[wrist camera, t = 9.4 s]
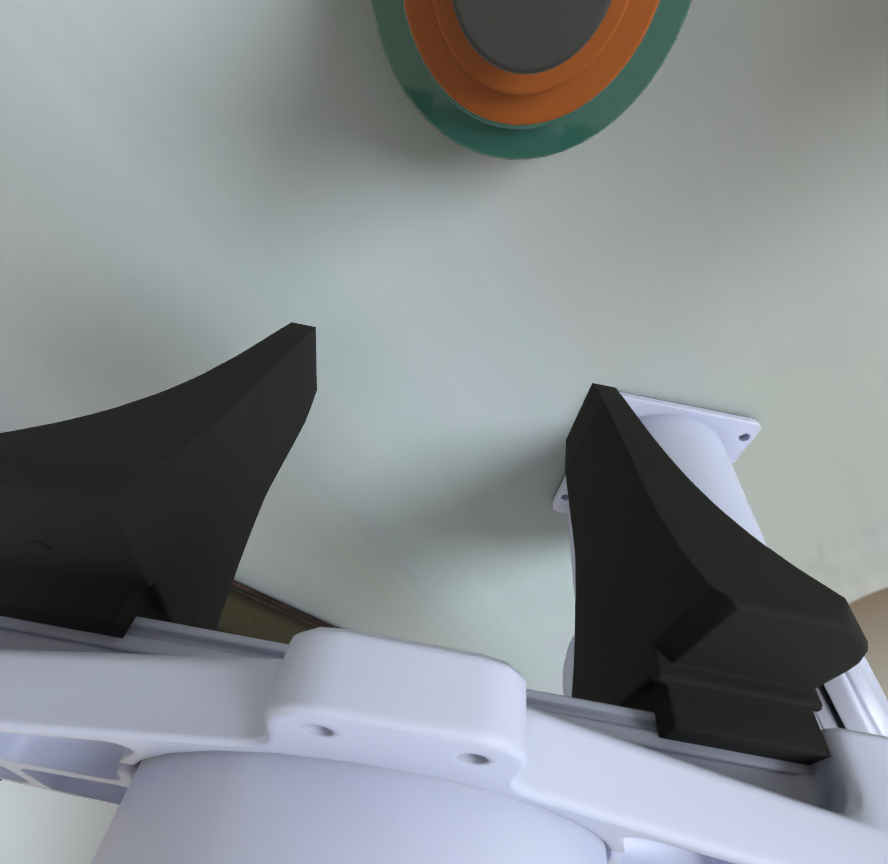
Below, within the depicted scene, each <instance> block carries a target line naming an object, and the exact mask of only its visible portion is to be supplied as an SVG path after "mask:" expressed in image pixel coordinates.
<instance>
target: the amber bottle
mask: <svg viewBox="0 0 888 864" xmlns="http://www.w3.org/2000/svg"><path fill="white" fill-rule="evenodd" d="M659 2H660V0H404V6H405V12H406V16H407V19H408V23H409V27H410V30H411V33H412V36H413V38H414V41H415V44H416V46H417V49H418V51H419V53H420V55H421V57H422V59H423V61H424V63H425V65H426V67H427V68H428V70H429V71H430V72H431V74H432V75H433V77H434V78H435V80H436V81H437V82H438V84H439V85H440V86H441V87H442V88H443V89H444V91H445V92H446V93H447V94H448V95H449V96H450V97H452V98H453V99H454V100H455V101H456V102H457V103H458V104H460V105H461V106H463V107H464V108H466V109H467V110H469V111H470V112H472V113H474V114H476V115H478V116H480V117H482V118H484V119H487V120H490V121H493V122H497V123H500V124H508V125H533V124H539V123H545V122H548V121H551V120H554V119H558V118H560V117H563V116H565V115H567V114H569V113H571V112H573V111H575V110H577V109H578V108H580V107H581V106H583V105H585V104H586V103H588V102H589V101H590V100H592V99H593V98H594V97H595V96H597V95H598V94H599V93H600V92H601V91H603V90H604V89H605V88H606V87H607V86H608V85H609V84H610V83H611V82H612V81H613V80H614V79H615V78H616V77H617V75H618V74H619V73H620V72H621V70H622V69H623V68H624V67H625V65H626V64H627V63H628V62H629V60H630V59H631V57H632V56H633V54H634V52H635V51H636V49H637V48H638V46H639V45H640V43H641V41H642V39H643V37H644V35H645V34H646V32H647V30H648V28H649V26H650V24H651V22H652V19H653V17H654V14H655V12H656V9H657V7H658V4H659Z"/></svg>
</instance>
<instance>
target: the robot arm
mask: <svg viewBox="0 0 888 864" xmlns="http://www.w3.org/2000/svg"><path fill="white" fill-rule="evenodd" d="M316 391H317V376H316V327H312V326H307V325H302V324H297V323H290V324H288V325H286V326H285V327H283V328H281V329H280V330H278V331H277V332H275V333H273V334H272V335H270V336H269V337H267V338H265V339H264V340H262V341H261V342H259V343H257V344H256V345H254V346H252V347H251V348H249V349H247V350H246V351H244V352H242V353H241V354H239V355H237V356H236V357H234V358H232V359H230V360H228V361H226V362H225V363H223V364H221V365H219V366H217V367H215V368H213V369H211V370H210V371H208V372H206V373H204V374H202V375H200V376H198V377H196V378H194V379H191V380H189V381H187V382H185V383H182V384H180V385H178V386H175V387H173V388H170V389H168V390H165V391H163V392H160V393H158V394H155V395H152V396H149V397H146V398H143V399H140V400H137V401H134V402H131V403H128V404H125V405H122V406H119V407H116V408H113V409H109V410H106V411H102V412H98V413H95V414H91V415H87V416H83V417H79V418H75V419H71V420H66V421H62V422H57V423H53V424H47V425H42V426H37V427H31V428H26V429H21V430H15V431H10V432H4V433H0V779H2V780H7V781H11V782H15V783H20V784H24V785H29V786H33V787H37V788H42V789H46V790H50V791H55V792H59V793H63V794H68V795H72V796H77V797H82V798H86V799H90V800H94V801H99V802H103V803H107V804H112V805H117V806H119V807H118V809H117V812H116V814H115V816H114V818H113V820H112V822H111V824H110V826H109V828H108V830H107V832H106V834H105V836H104V838H103V840H102V842H101V844H100V846H99V849H98V851H97V853H96V855H95V857H94V859H93V861H92V863H91V864H888V701H887V699H886V697H885V695H884V693H883V691H882V689H881V687H880V685H879V683H878V681H877V679H876V677H875V675H874V673H873V672H872V670H871V668H870V666H869V664H868V662H867V660H866V658H865V657H864V656H865V654H866V652H867V651H868V641H867V640H866V637H865V635H864V634H863V632H862V630H861V628H860V626H859V624H858V622H857V620H856V618H855V616H854V615H853V613H852V611H851V609H850V607H849V605H848V603H847V601H846V599H845V598H844V597H842V596H841V595H839V594H838V593H836V592H834V591H833V590H831V589H830V588H828V587H826V586H825V585H823V584H822V583H820V582H818V581H817V580H815V579H814V578H812V577H811V576H809V575H807V574H806V573H804V572H803V571H801V570H799V569H798V568H796V567H795V566H793V565H792V564H791V563H789V562H788V561H786V560H785V559H784V558H782V557H781V556H779V555H778V554H777V553H775V552H774V551H772V550H771V549H770V548H768V547H767V544H766V542H765V540H764V538H763V535H762V533H761V531H760V528H759V526H758V524H757V522H756V519H755V517H754V515H753V512H752V510H751V508H750V505H749V503H748V501H747V499H746V496H745V494H744V492H743V489H742V487H741V485H740V482H739V480H738V478H737V476H736V473H735V471H734V469H733V466H732V464H733V463H734V462H735V460H736V459H737V458H738V457H739V455H740V454H741V453H742V452H743V451H744V449H745V448H746V447H747V446H748V445H749V443H750V442H751V441H752V440H753V438H754V437H755V436H756V435H757V434H758V432H759V431H760V425H759V423H758V421H757V420H755V419H752V418H747V417H742V416H737V415H732V414H727V413H722V412H717V411H712V410H707V409H702V408H697V407H692V406H688V405H683V404H678V403H673V402H668V401H663V400H658V399H653V398H648V397H643V396H638V395H633V394H628V393H623V392H619V391H618V390H617V389H616V388H614V387H609V386H604V385H599V384H594V383H592V385H591V387H590V389H589V392H588V394H587V396H586V398H585V400H584V402H583V405H582V407H581V409H580V411H579V413H578V415H577V418H576V420H575V422H574V424H573V426H572V428H571V431H570V433H569V435H568V437H567V439H566V463H565V474H566V475H565V477H564V479H563V481H562V483H561V485H560V487H559V489H558V491H557V493H556V495H555V497H554V499H553V501H552V508H553V510H555V511H557V512H561V513H566V514H567V515H568V527H569V538H570V550H571V562H572V573H573V585H574V593H575V635H574V636H573V638H572V639H571V641H570V643H569V647H568V650H567V654H566V659H565V662H564V668H563V695H564V696H562V695H557V694H551V693H546V692H541V691H535V690H530V689H526V679H525V678H524V677H523V676H522V675H521V674H520V673H519V672H518V671H517V670H515V669H514V668H513V667H512V666H510V665H509V664H508V663H507V662H505V661H502V660H499V659H496V658H492V657H489V656H486V655H483V654H479V653H474V652H469V651H463V650H458V649H453V648H447V647H442V646H437V645H431V644H426V643H421V642H415V641H410V640H405V639H399V638H394V637H389V636H383V635H378V634H373V633H367V632H362V631H357V630H351V629H343V628H328V627H319V628H315V629H311V630H308V631H304V632H301V633H298V634H296V635H294V636H293V638H292V640H291V642H290V643H289V645H288V644H283V643H278V642H272V641H267V640H262V639H256V638H251V637H245V636H240V635H235V634H229V633H224V632H219V631H216V629H217V626H218V623H219V620H220V617H221V614H222V611H223V608H224V605H225V602H226V599H227V596H228V593H229V590H230V588H231V585H232V582H233V579H234V576H235V573H236V571H237V568H238V565H239V562H240V560H241V557H242V554H243V552H244V549H245V546H246V544H247V541H248V538H249V536H250V533H251V530H252V528H253V526H254V523H255V521H256V518H257V516H258V513H259V511H260V508H261V506H262V503H263V501H264V499H265V496H266V494H267V492H268V490H269V488H270V486H271V484H272V482H273V481H274V479H275V477H276V475H277V473H278V471H279V469H280V468H281V466H282V464H283V462H284V460H285V458H286V457H287V455H288V453H289V451H290V449H291V447H292V446H293V444H294V442H295V440H296V438H297V436H298V434H299V433H300V431H301V429H302V427H303V425H304V423H305V421H306V418H307V416H308V413H309V411H310V408H311V405H312V402H313V399H314V397H315V394H316ZM742 434H745V435H743V436H740V435H742Z"/></svg>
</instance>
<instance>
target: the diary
mask: <svg viewBox="0 0 888 864" xmlns="http://www.w3.org/2000/svg"><path fill="white" fill-rule="evenodd" d="M319 627H328V628H335V627H332V626H330V625H328V624H326V623H324V622H321V621H319V620H317V619H315V618H313V617H310V616H308V615H306V614H304V613H302V612H299V611H297V610H295V609H293V608H290V607H288V606H286V605H284V604H282V603H279V602H277V601H275V600H273V599H271V598H268V597H266V596H264V595H262V594H260V593H257V592H255V591H253V590H251V589H249V588H246V587H244V586H242V585H240V584H237V583H235V582H232V585H231V588H230V590H229V593H228V596H227V599H226V602H225V605H224V608H223V611H222V614H221V617H220V620H219V623H218V626H217V629H216V631H219V632H224V633H229V634H235V635H240V636H245V637H251V638H256V639H262V640H267V641H272V642H278V643H283V644H288V645H289V643H290V642H291V640H292V638H293V636H294V635H296V634H298V633H301V632H304V631H308V630H311V629H315V628H319Z"/></svg>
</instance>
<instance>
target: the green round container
mask: <svg viewBox="0 0 888 864" xmlns="http://www.w3.org/2000/svg"><path fill="white" fill-rule="evenodd" d="M371 1H372V6H373V11H374V16H375V21H376V26H377V29H378V32H379V36H380V39H381V42H382V46H383V49H384V51H385V54H386V56H387V59H388V61H389V63H390V66H391V68H392V71H393V73H394V74H395V76H396V78H397V80H398V82H399V83H400V85H401V87H402V89H403V91H404V92H405V94H406V95H407V96H408V98H409V99H410V101H411V102H412V103H413V105H414V106H415V108H416V109H417V110H418V111H419V112H420V113H421V114H422V115H423V116H424V118H425V119H426V120H427V121H428V122H429V123H430V124H431V125H433V126H434V127H435V128H436V129H437V130H438V131H440V132H441V133H442V134H443V135H444V136H446V137H448V138H449V139H451V140H452V141H454V142H455V143H457V144H459V145H461V146H463V147H465V148H467V149H469V150H472V151H474V152H476V153H480V154H483V155H487V156H490V157H495V158H502V159H509V160H515V159H533V158H540V157H546V156H549V155H553V154H556V153H559V152H563V151H565V150H567V149H570V148H572V147H574V146H576V145H579V144H581V143H583V142H584V141H586V140H588V139H589V138H591V137H593V136H594V135H596V134H598V133H599V132H600V131H602V130H603V129H604V128H606V127H607V126H608V125H609V124H611V123H612V122H613V121H615V120H616V119H617V118H618V117H619V116H620V115H621V114H622V113H623V112H624V111H625V110H626V109H627V108H628V107H629V106H630V105H631V104H632V103H633V102H634V101H635V100H636V99H637V98H638V96H639V95H640V94H641V93H642V92H643V90H644V89H645V88H646V87H647V86H648V84H649V83H650V81H651V80H652V79H653V77H654V76H655V74H656V73H657V71H658V70H659V68H660V67H661V65H662V64H663V62H664V60H665V59H666V57H667V55H668V53H669V51H670V49H671V48H672V46H673V44H674V42H675V40H676V38H677V36H678V34H679V31H680V29H681V27H682V24H683V22H684V20H685V18H686V15H687V13H688V10H689V7H690V4H691V1H692V0H660V2H659V4H658V7H657V9H656V12H655V14H654V17H653V19H652V22H651V24H650V26H649V28H648V30H647V32H646V34H645V35H644V37H643V39H642V41H641V43H640V45H639V46H638V48H637V49H636V51H635V52H634V54H633V56H632V57H631V59H630V60H629V62H628V63H627V64H626V65H625V67H624V68H623V69H622V70H621V72H620V73H619V74H618V75H617V77H616V78H615V79H614V80H613V81H612V82H611V83H610V84H609V85H608V86H607V87H606V88H605V89H604V90H603V91H601V92H600V93H599V94H598V95H597V96H595V97H594V98H593V99H592V100H590V101H589V102H588V103H586V104H585V105H583V106H581V107H580V108H578V109H577V110H575V111H573V112H571V113H569V114H567V115H565V116H563V117H560V118H558V119H554V120H551V121H548V122H545V123H539V124H533V125H508V124H500V123H497V122H493V121H490V120H487V119H484V118H482V117H480V116H478V115H476V114H474V113H472V112H470V111H469V110H467V109H466V108H464V107H463V106H461V105H460V104H458V103H457V102H456V101H455V100H454V99H453V98H452V97H450V96H449V95H448V94H447V93H446V92H445V91H444V89H443V88H442V87H441V86H440V85H439V84H438V82H437V81H436V80H435V78H434V77H433V75H432V74H431V72H430V71H429V70H428V68H427V67H426V65H425V63H424V61H423V59H422V57H421V55H420V53H419V51H418V49H417V46H416V44H415V41H414V38H413V36H412V33H411V30H410V27H409V23H408V19H407V16H406V12H405V6H404V0H371Z"/></svg>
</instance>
